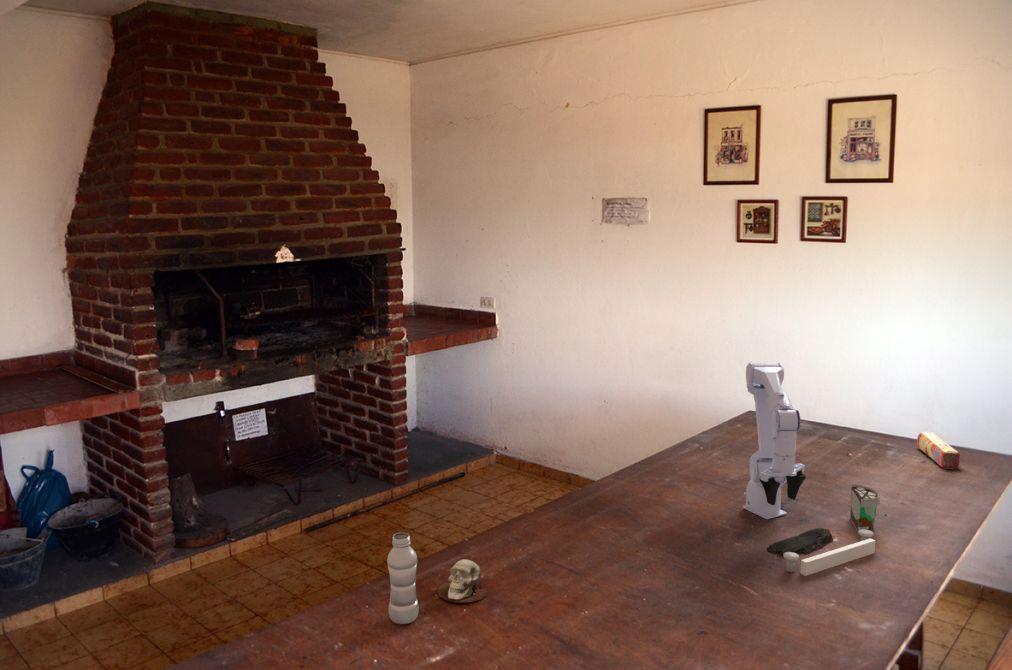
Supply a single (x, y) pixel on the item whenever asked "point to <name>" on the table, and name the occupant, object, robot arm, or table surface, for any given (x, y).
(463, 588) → the skull
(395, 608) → the plastic bottle
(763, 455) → the robot arm
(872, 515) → the food container
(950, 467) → the snack package
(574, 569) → the table surface
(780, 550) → the wood
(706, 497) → the table surface
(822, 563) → the cream long bar
